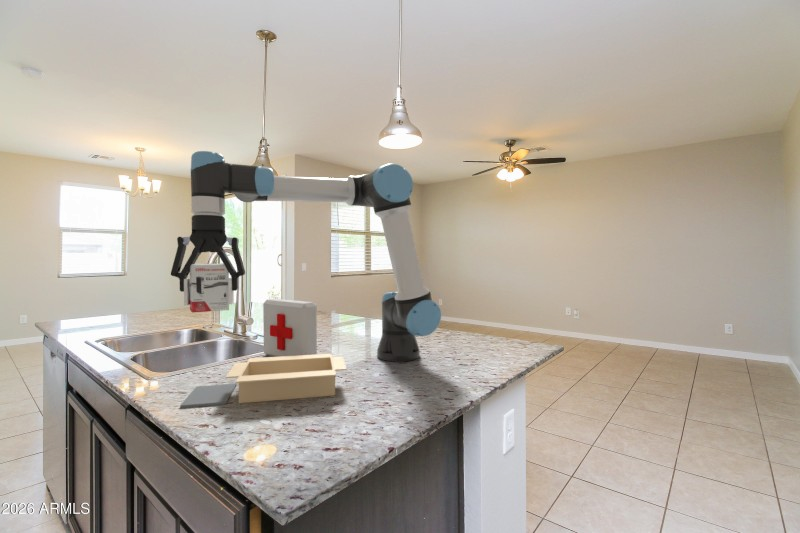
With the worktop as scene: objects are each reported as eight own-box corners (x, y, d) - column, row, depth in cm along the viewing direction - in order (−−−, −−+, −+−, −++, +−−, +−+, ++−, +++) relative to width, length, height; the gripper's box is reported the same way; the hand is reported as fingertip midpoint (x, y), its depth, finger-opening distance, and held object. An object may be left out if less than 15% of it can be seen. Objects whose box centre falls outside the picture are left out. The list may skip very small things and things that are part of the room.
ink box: (191, 312, 91) (190, 264, 91) (189, 310, 95) (189, 263, 95) (229, 310, 96) (229, 263, 95) (226, 307, 100) (226, 263, 99)
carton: (341, 374, 114) (341, 352, 114) (348, 399, 94) (348, 373, 94) (238, 381, 107) (238, 358, 107) (222, 410, 87) (221, 382, 87)
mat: (236, 385, 104) (236, 383, 104) (226, 404, 91) (225, 401, 91) (196, 388, 101) (196, 386, 101) (180, 407, 89) (180, 405, 89)
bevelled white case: (259, 356, 133) (258, 300, 133) (277, 351, 140) (277, 298, 140) (301, 365, 122) (301, 304, 122) (318, 360, 129) (318, 302, 128)
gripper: (257, 217, 101) (257, 301, 102) (165, 215, 96) (166, 303, 96) (252, 215, 94) (253, 304, 94) (153, 212, 88) (154, 307, 89)
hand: (209, 304), depth 95 cm, fingers closed on ink box, 9 cm apart
